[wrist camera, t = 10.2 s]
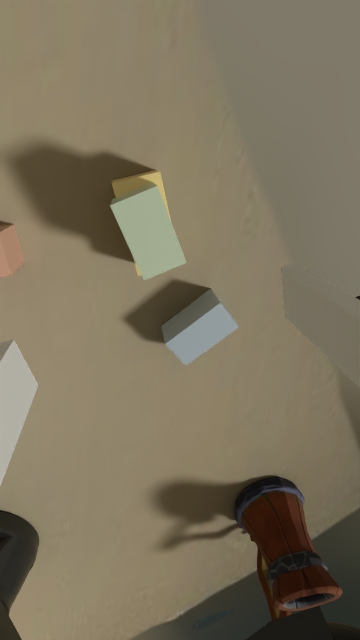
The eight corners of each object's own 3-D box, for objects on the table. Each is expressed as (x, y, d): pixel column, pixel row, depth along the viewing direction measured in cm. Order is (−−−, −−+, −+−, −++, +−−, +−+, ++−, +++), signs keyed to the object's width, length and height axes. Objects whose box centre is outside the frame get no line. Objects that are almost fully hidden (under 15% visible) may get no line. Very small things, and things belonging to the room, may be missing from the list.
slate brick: (179, 345, 39) (185, 365, 35) (160, 325, 37) (165, 344, 33) (227, 310, 38) (239, 326, 34) (210, 287, 36) (220, 302, 32)
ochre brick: (174, 253, 34) (180, 265, 30) (136, 262, 34) (138, 275, 30) (155, 169, 30) (159, 171, 26) (113, 180, 30) (111, 183, 26)
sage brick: (178, 249, 29) (186, 262, 26) (141, 265, 29) (144, 280, 26) (152, 182, 27) (157, 185, 23) (111, 199, 27) (109, 205, 23)
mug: (272, 544, 60) (314, 654, 47) (213, 546, 57) (240, 662, 44) (309, 476, 53) (372, 582, 40) (244, 474, 50) (287, 587, 37)
